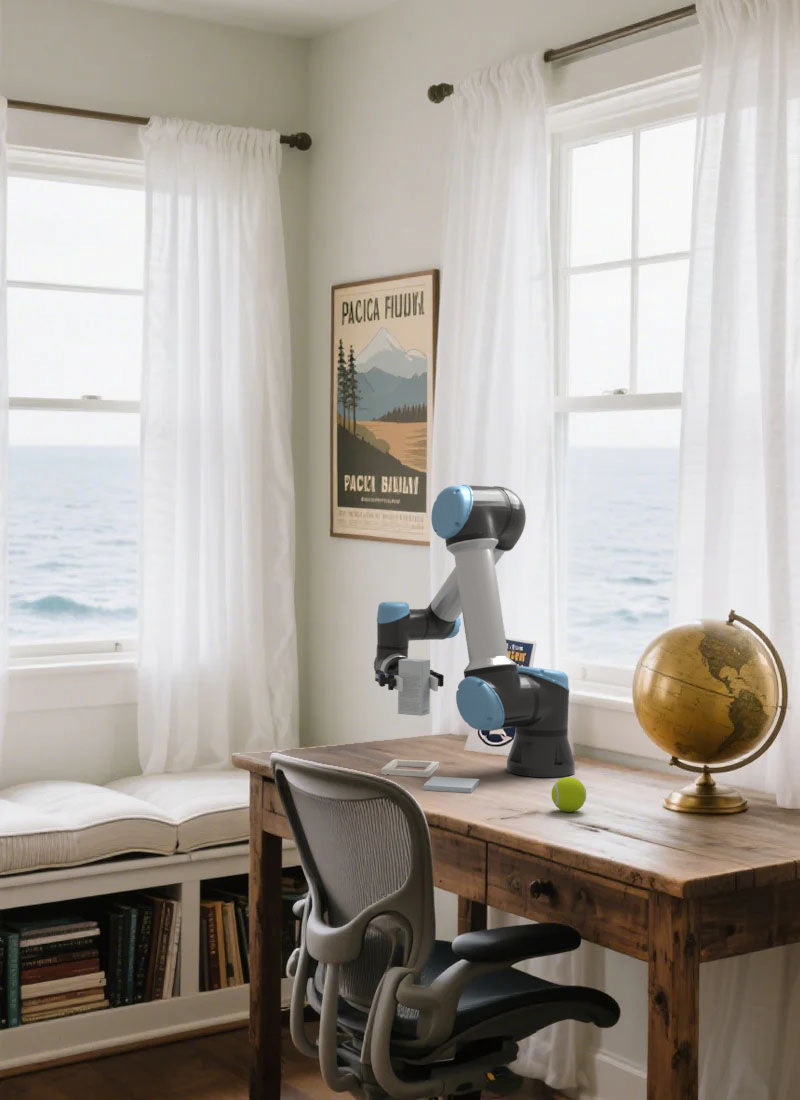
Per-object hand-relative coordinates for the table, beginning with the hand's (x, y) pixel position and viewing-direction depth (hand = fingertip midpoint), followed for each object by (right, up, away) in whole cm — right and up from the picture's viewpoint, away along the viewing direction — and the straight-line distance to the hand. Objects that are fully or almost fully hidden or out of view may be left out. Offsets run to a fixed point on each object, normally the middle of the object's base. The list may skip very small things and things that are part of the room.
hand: (418, 685), depth 303 cm
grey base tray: (-2, -20, +8) cm, 21 cm away
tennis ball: (+29, -22, -32) cm, 48 cm away
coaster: (+7, -20, -9) cm, 23 cm away
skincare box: (-1, -7, +5) cm, 9 cm away
